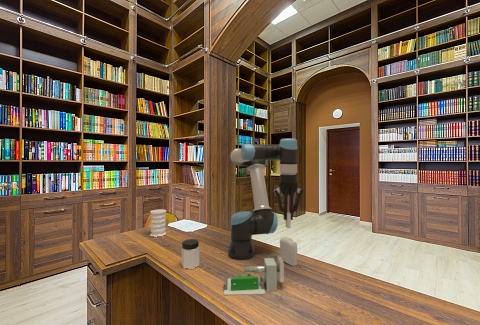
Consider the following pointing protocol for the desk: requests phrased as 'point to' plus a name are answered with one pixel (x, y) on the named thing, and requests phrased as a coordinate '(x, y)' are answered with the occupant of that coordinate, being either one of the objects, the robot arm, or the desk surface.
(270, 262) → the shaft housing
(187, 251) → the jar
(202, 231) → the desk surface
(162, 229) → the decorative container
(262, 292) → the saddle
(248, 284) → the pipe clamp
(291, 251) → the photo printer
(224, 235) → the desk surface
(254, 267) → the shaft
